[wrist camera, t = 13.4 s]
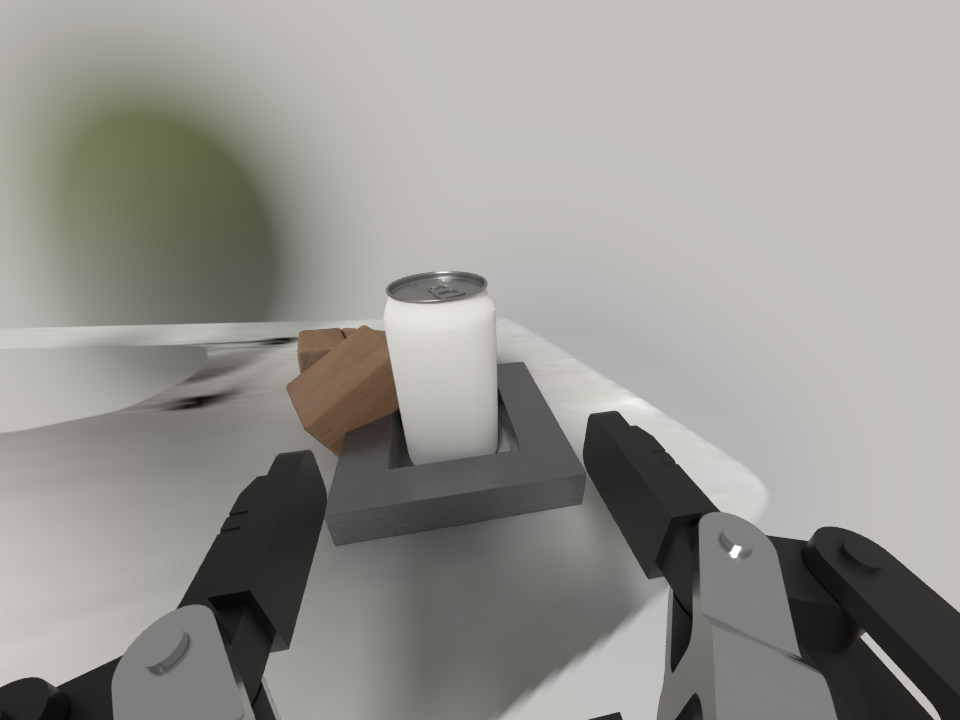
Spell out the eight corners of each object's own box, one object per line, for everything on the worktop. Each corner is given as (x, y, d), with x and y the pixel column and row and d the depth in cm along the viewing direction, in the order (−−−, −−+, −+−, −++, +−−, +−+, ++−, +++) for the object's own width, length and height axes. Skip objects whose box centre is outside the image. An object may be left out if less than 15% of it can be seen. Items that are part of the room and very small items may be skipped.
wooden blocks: (415, 364, 43) (477, 432, 27) (295, 381, 37) (288, 477, 22) (412, 304, 40) (479, 341, 25) (284, 312, 35) (267, 364, 19)
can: (466, 408, 29) (455, 264, 23) (517, 452, 24) (519, 284, 18) (394, 441, 26) (360, 283, 20) (436, 498, 21) (408, 313, 15)
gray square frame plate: (335, 545, 18) (323, 515, 17) (366, 404, 30) (360, 380, 28) (581, 503, 20) (586, 473, 19) (522, 385, 31) (523, 361, 30)
